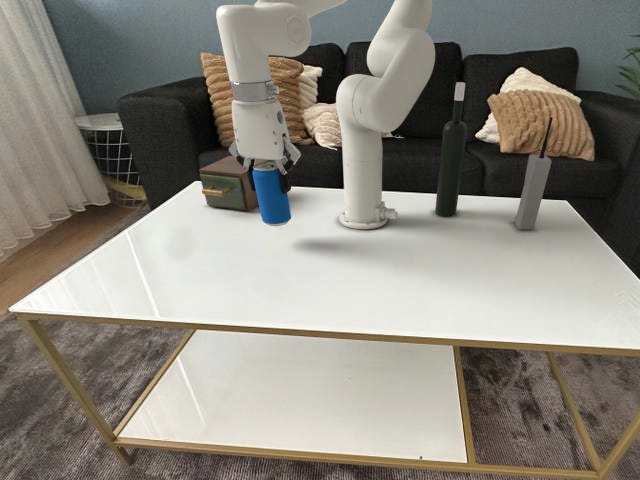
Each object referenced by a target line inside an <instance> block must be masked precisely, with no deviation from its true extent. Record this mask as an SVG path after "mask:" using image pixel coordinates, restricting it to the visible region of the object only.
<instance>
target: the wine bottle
mask: <svg viewBox="0 0 640 480" xmlns="http://www.w3.org/2000/svg"><path fill="white" fill-rule="evenodd" d="M465 90H466V82H463V81H462V82H461V81H459V82H457V81H456V82H455V89H454V99H453V100H454V103H453V111H452V119H451V120H450V121H448V122H446V124H444V126H443V129H442V139H441V150H440V158H439V159H440V160H439V168H438V177H437V179H438V180H437V189H436V190H437V191H436V199H435V207H434V208H435V209H434V213H435V215H436V216H439V217H442V218H451V217H452V218H453V217H455V216H456V214H457V210H458V209H457V208H458V202H459V193H460V187H461V179H462V173H463V172H462V171H463V165H464V164H463V163H464V157H465V149H466V141H467V135H468V126H467V124H466V123H465V122H463V121H461V120H462V111H463V103H464V98H465Z"/></svg>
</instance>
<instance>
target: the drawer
mask: <svg viewBox="0 0 640 480" xmlns="http://www.w3.org/2000/svg"><path fill="white" fill-rule="evenodd" d="M199 178H200V181H201V186H202V189H201V193H202V195H204V198H205V201H206V205H208V206H209V205H215V206H223V207H231V208H239V209H245V208H246V203H245V198H244V193H243V188H242V183H241V178H240V177H235V176H226V175H217V174H200V173H199Z"/></svg>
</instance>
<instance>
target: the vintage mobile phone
mask: <svg viewBox="0 0 640 480" xmlns="http://www.w3.org/2000/svg"><path fill="white" fill-rule="evenodd" d="M553 119H554V117H552V116H551V117H549V119H548V124H547V128H546V131H545V132H546V133H545V137H544V140H543V142H542V146H541V150H540V153H539V154H532V153H531V154H529V155H528V160H527V164H526V165H527V166H526V170H525V177H524V183H523V187H522V192H521V196H520V200H519V205H518V207H517V208H518V209H517V213H516V215H515V217H514V221H513V223H514V224H515V226H516V227H517V228H518V230H520V231H534V230H535V225H536V222H537V218H538V215H539V210H540V207H541V202H542V199H543V196H544V191H545V188H546V184H547V181H548V176H549V173H550V169H551V165H552V159H551V158H549V157H548V156H547V155H546V154H545V153H546V149H547V145H548V139H549V135H550V131H551V127H552V123H553Z"/></svg>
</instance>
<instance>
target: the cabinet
mask: <svg viewBox="0 0 640 480" xmlns="http://www.w3.org/2000/svg"><path fill="white" fill-rule="evenodd" d="M262 162H270V160H265V159H256V162H255V164H258V163H262ZM198 171H199V175H200V174H217V175H226V176H235V177H240V178H241V183H242V188H243V193H244V198H245V203H246V208H245V209H239V208H231V207H223V206H215V205H208V207H211V208H212V207H213V208H221V209H228V210H229V209H230V210H238V211H245V212H250V211H252V210H254V209H255V208H256V207H259V202H258V198H257V193H256V191H252V190H251V186H250V184H249V180H248V175H247V171H244V169H243V166H242V165H241V164H240V163H239V162H238V161H237V160H236V158H235V157H234V156H233V155H227V156H226V157H224V158H221V159H218V160H216V161H214V162H213V163H211V164H209V165H205V166H203V167H202V168H199V169H198Z"/></svg>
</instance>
